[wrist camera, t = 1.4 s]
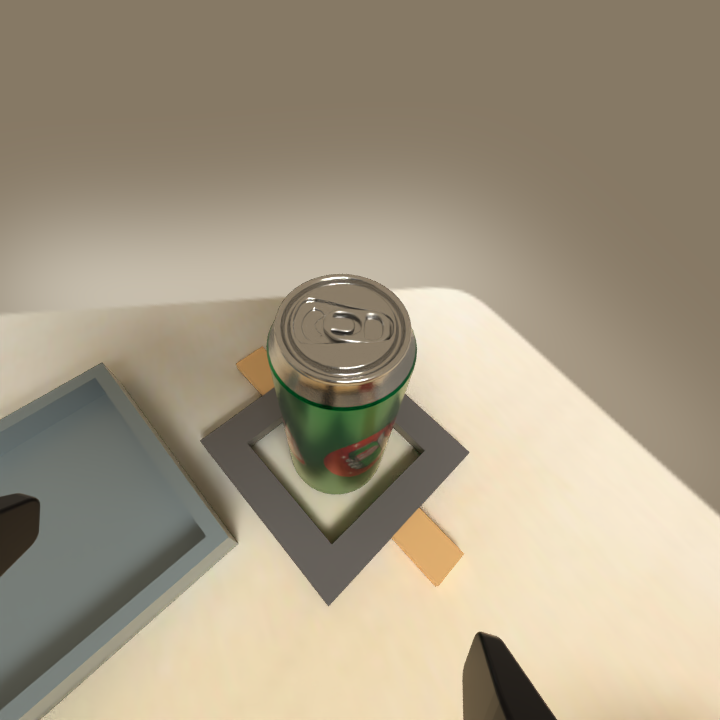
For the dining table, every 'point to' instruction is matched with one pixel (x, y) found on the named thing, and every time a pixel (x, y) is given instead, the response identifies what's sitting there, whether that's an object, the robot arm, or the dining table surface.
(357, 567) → the grey rectangular frame
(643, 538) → the dining table surface
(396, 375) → the soda can
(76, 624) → the parts tray
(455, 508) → the dining table surface
